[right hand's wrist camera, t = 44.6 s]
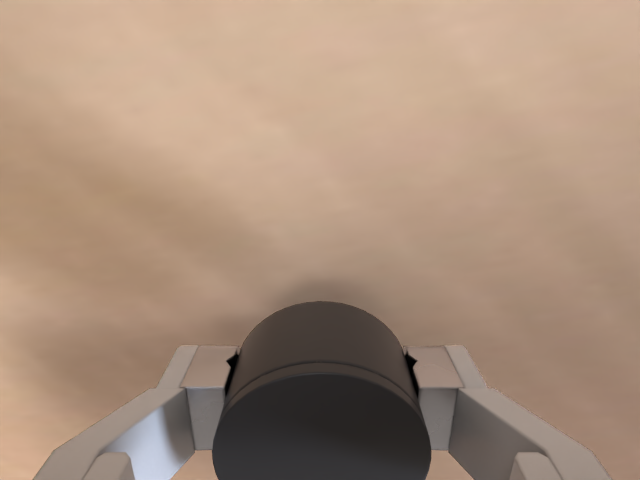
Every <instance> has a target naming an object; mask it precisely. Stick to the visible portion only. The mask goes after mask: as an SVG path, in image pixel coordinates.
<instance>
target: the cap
mask: <svg viewBox="0 0 640 480" xmlns="http://www.w3.org/2000/svg"><path fill="white" fill-rule="evenodd" d="M212 457H213V465H214V468H215V472H216V475H217V477H218V479H219V480H425V479H426V476H427V474H428V471H429V467H430V462H431V443H430V437H429V434H428V431H427V427H426V425H425V421H424V417H423V414H422V411H421V407H420V404H419V401H418V397H417V394H416V391H415V388H414V384H413V381H412V377H411V374H410V371H409V368H408V364H407V361H406V358H405V355H404V352H403V349H402V347H401V345H400V343H399V341H398V339H397V338H396V336H395V335H394V334H393V333H392V331H391V330H390V329H389V328H388V327H387V326H386V325H385V324H384V323H382V322H381V321H380V320H378V319H377V318H376V317H374V316H373V315H371V314H369V313H367V312H366V311H364V310H361V309H359V308H356V307H354V306H350V305H346V304H342V303H336V302H323V301H317V302H306V303H301V304H296V305H293V306H290V307H287V308H284V309H282V310H280V311H278V312H275V313H274V314H272V315H271V316H269V317H267V318H266V319H264V320H263V321H262V322H261V323H260V324H258V325H257V326H256V327H255V328H254V329H253V331H252V332H251V333H250V334H249V335H248V337H247V338H246V340H245V341H244V343H243V345H242V347H241V350H240V352H239V356H238V359H237V362H236V366H235V369H234V372H233V376H232V379H231V382H230V386H229V389H228V392H227V396H226V399H225V402H224V406H223V409H222V412H221V416H220V419H219V422H218V426H217V429H216V432H215V436H214V439H213V447H212Z"/></svg>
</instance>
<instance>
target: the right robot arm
mask: <svg viewBox="0 0 640 480" xmlns="http://www.w3.org/2000/svg"><path fill="white" fill-rule="evenodd" d="M239 352H240V347H239V346H217V345H200V346H199V345H181V346H179V347H178V348H177V349H176V351H175V353H174V355H173V357H172V359H171V360H170V362H169V364H168V366H167V368H166V370H165V372H164V373H163V375H162V377H161V379H160V381H159V383H158V385H157V387H156V388H149V389H148V390H146V391H145V392H143V393H142V394H140V395H138V396H137V397H135V398H134V399H132V400H131V401H129V402H128V403H126V404H125V405H123V406H121V407H120V408H118V409H117V410H115V411H114V412H112V413H111V414H109V415H108V416H106V417H104V418H103V419H101V420H100V421H98V422H97V423H95V424H94V425H92V426H91V427H89V428H87V429H86V430H84V431H83V432H81V433H80V434H78V435H77V436H75V437H74V438H72V439H70V440H69V441H67V442H66V443H64V444H63V445H61V446H60V447H58V448H57V449H55V450H54V451H53V452H52V453H51V455H50V456H49V458H48V459H47V460H46V462H45V463H44V464H43V466H42V467H41V469H40V470H39V471H38V473H37V474H36V476H35V477H34V478H33V480H170V478H171V477H172V476H173V475H174V474H175V473H176V472H177V471H178V470H179V469H180V468H181V467H182V466H183V465H184V464H185V462H186V461H187V460H188V459H189V458H190V457H191V456H192V455H193V454H194V453H195V450H212V447H213V439H214V436H215V432H216V429H217V426H218V422H219V419H220V416H221V412H222V409H223V406H224V402H225V399H226V396H227V392H228V389H229V386H230V382H231V379H232V376H233V372H234V369H235V366H236V362H237V359H238V356H239ZM403 352H404V355H405V358H406V361H407V364H408V368H409V371H410V374H411V377H412V381H413V384H414V388H415V391H416V394H417V397H418V401H419V404H420V407H421V411H422V414H423V417H424V421H425V425H426V427H427V431H428V434H429V437H430V443H431V450H449V453H450V454H451V455H452V456H453V457H454V458H455V459H456V461H457V462H458V463H459V464H460V465H461V466H462V467H463V468H464V469H465V470H466V471H467V472H468V473H469V474H470V475H471V476H472V478H473V479H474V480H612V478H611V477H610V476H609V474H608V473H607V471H606V470H605V469H604V467H603V466H602V465H601V463H600V462H599V460H598V459H597V458H596V456H595V455H594V454H593V452H592V451H591V450H589V449H588V448H586V447H585V446H583V445H581V444H580V443H578V442H577V441H575V440H574V439H572V438H571V437H569V436H567V435H566V434H564V433H563V432H561V431H560V430H558V429H557V428H555V427H554V426H552V425H550V424H549V423H547V422H546V421H544V420H543V419H541V418H540V417H538V416H536V415H535V414H533V413H532V412H530V411H529V410H527V409H526V408H524V407H522V406H521V405H519V404H518V403H516V402H515V401H513V400H512V399H510V398H508V397H507V396H505V395H504V394H502V393H501V392H499V391H498V390H496V389H494V388H488V387H487V385H486V383H485V382H484V380H483V378H482V376H481V374H480V373H479V371H478V369H477V367H476V365H475V364H474V362H473V360H472V358H471V356H470V355H469V353H468V351H467V349H466V347H465V346H463V345H443V346H404V347H403Z"/></svg>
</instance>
